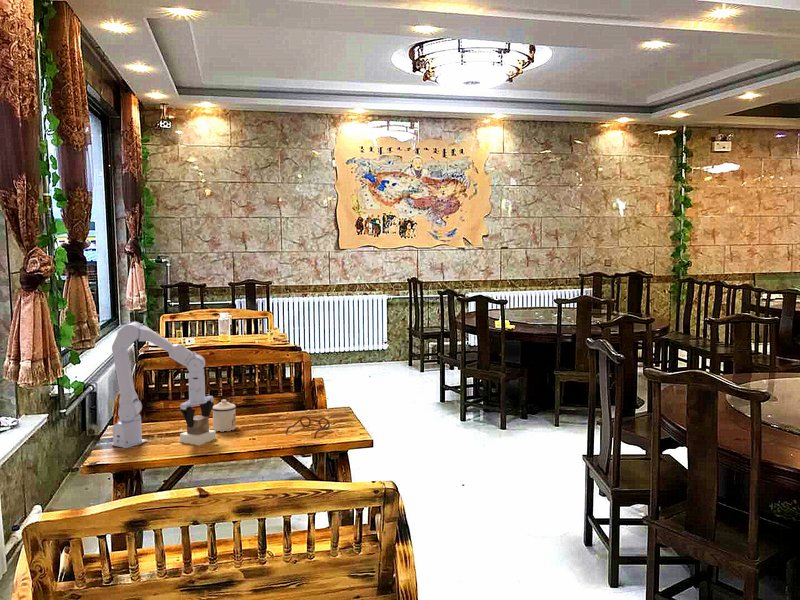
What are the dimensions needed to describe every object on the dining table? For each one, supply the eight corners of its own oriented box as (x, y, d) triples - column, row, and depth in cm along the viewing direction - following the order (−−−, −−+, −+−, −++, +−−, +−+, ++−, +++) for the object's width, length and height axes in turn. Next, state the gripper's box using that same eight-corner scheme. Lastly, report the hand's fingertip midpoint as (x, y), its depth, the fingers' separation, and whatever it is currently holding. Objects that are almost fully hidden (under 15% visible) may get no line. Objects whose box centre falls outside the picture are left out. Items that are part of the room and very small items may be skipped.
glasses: (330, 430, 259) (330, 418, 259) (314, 439, 247) (314, 426, 247) (301, 427, 264) (300, 414, 264) (284, 435, 252) (283, 423, 251)
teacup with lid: (237, 430, 257) (237, 401, 256) (213, 433, 254) (212, 403, 253) (234, 423, 268) (233, 394, 267) (211, 425, 265) (210, 396, 264)
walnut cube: (198, 435, 240) (197, 420, 240) (187, 433, 243) (186, 418, 243) (209, 431, 245) (208, 416, 245) (198, 429, 248) (197, 415, 247)
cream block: (199, 446, 238) (198, 437, 238) (180, 443, 242) (179, 433, 242) (216, 439, 247) (215, 430, 246) (197, 436, 250) (197, 427, 250)
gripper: (190, 393, 234) (191, 430, 236) (219, 385, 247) (219, 421, 248) (175, 391, 238) (176, 428, 239) (205, 383, 250) (205, 418, 252)
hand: (197, 424), depth 244 cm, fingers open, 7 cm apart
